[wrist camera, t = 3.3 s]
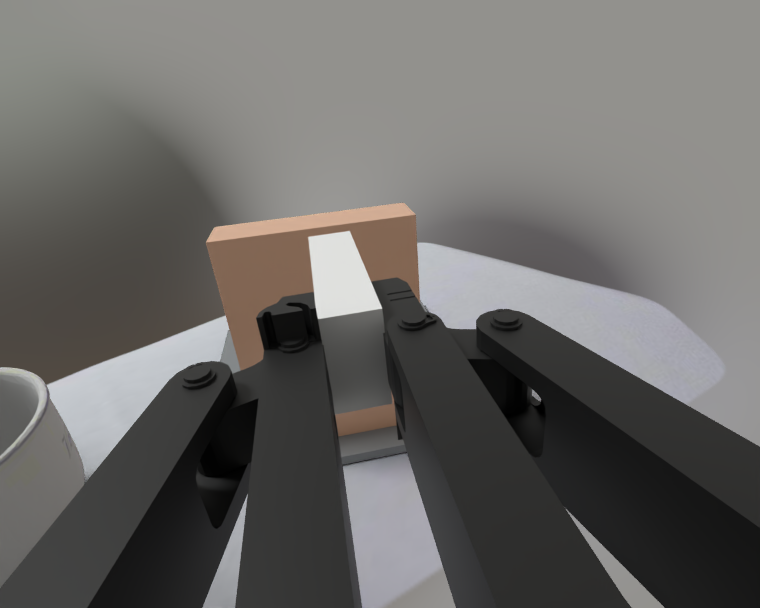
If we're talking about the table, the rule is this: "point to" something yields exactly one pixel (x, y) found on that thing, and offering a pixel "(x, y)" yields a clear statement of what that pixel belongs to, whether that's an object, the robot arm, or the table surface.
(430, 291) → the table surface
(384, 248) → the tile
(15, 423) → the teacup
